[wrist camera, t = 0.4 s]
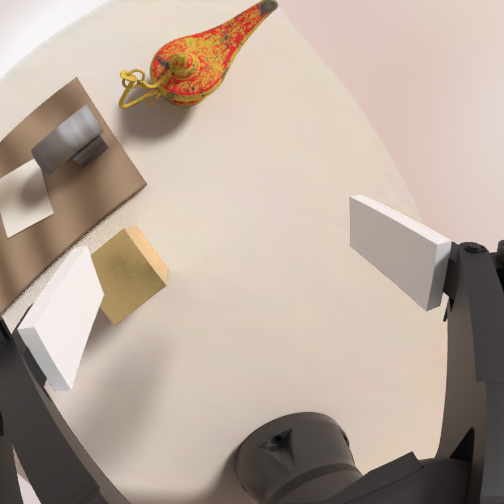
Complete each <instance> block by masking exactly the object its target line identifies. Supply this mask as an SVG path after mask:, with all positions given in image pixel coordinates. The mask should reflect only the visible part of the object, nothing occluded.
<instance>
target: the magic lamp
mask: <svg viewBox="0 0 504 504" xmlns="http://www.w3.org/2000/svg"><path fill="white" fill-rule="evenodd" d="M277 7H278V3H277V1H275V0H262V1H260V2H259V3H257V4H255V5H254V6H252V7H250V8H249V9H247V10H245V11H244V12H242V13H241V14H239V15H237V16H236V17H234V18H232V19H231V20H229V21H227V22H225V23H223V24H221V25H219V26H217V27H215V28H212V29H210V30H207V31H204V32H201V33H197V34H194V35H190V36H185V37H182V38H178V39H175V40H173V41H171V42H169V43H167V44H166V45H164V46H163V47H162V48H161V49H159V51H158V52H157V53H156V54H155V56H154V58H153V60H152V62H151V66H150V77H151V81H152V83H153V85H149V84H147V83H146V82H145V81H143V80H144V78H145V73H144V71H142V70H138V69H135V70H132V71H130V72H128V71H126V70H123V71H121V73H120V77H121V78H123V80H122V85H123V86H124V87H125V88H126V89H125V91H124V93H123V95H122V97H121V99H120V102H119V108H121V109H126V108H128V107H131V106H133V105H135V104H137V103H138V102H140V101H142V100H144V99H146V98H148V97H150V96H153V95H155V94H157V95H156V97H155V99H154V100H153V101H152V102H151V103H149V104H148V102H147V105H150V104H152V103H153V102H154V101H155V100H156V99H157V98H158V97H159V96H161V94H162V95H164V96H165V98H166V99H167V100H169V101H170V102H171V103H173V104H175V105H179V106H191V105H195V104H197V103H199V102H201V101H202V100H204V99H205V98H206V97H207V96H208V95H210V94H211V93H213V92H214V91H215V90H216V89H217V88H218V87H219V86H220V84H221V83H222V82H223V80H224V78H225V76H226V74H227V72H228V69H229V67H230V65H231V63H232V61H233V60H234V58H235V56H236V55H237V53H238V52H239V50H240V49H241V47H242V46H243V45H244V43H245V42H246V41H247V39H248V38H249V37H250V36H251V34H252V33H253V32H254V31H255V30H256V28H257V27H258V26H259V25H260V24H261V23H262V22H263V21H264V20H265V19H266V18H267V17H268V16H269V15H270V14H271V13H272V12H273V11H274V10H276V9H277ZM133 72H140V73H142V75H143V76H142V79H141V81H140V80H138V79H137V78H136V76H135V75H133V74H132V73H133ZM125 80H127V81H129V84H128V86H126V85H125ZM137 80H138V81H137ZM136 81H137V84H136V85H135V86H133V84H134V82H136ZM137 86H140V87H142V88H144V89H151V88H156V89H154V90H152V91H150V92H149V93H147V94H145V95H144V96H142V97H140V98H138V99H136V100H134V101H132V102H130V103H128V104H126V105H123V102H124V100H125V98H126V96H127V94H128V92H129V91H130V89H132V88H136V87H137Z"/></svg>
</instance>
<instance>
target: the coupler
mask: <svg viewBox="0 0 504 504" xmlns="http://www.w3.org/2000/svg"><path fill="white" fill-rule="evenodd" d="M91 259H92V262H93V265H94V268H95V271H96V274H97V276H98V279H99V282H100V285H101V288H102V290H103V293H104V296H103V299H102V301H101V304H100V308H101V310H102V311H103V312H104V313H105V315H106V316H107V317H108V318H109V320H110V321H111V322H112V323H113V324H114V326H115V325H116V324H118V323H119V322H120V321H121V320H123V319H124V318H125V317H127V316H128V315H129V314H130V313H132V312H133V311H134V310H136V309H137V308H138V307H139V306H141V305H142V304H143V303H145V302H146V301H147V300H148V299H150V298H151V297H152V296H154V295H155V294H156V293H158V292H159V291H160V290H161V289H163V288H164V287H165V286H166V285H167V277H168V268H167V266H166V265H165V264H164V262H163V261H162V260H161V258H160V257H159V256H158V254H157V253H156V252H155V250H154V249H153V248H152V246H151V245H150V243H149V242H148V241H147V239H146V238H145V237H144V235H143V234H142V232H141V231H140V230H139V228H138V227H131V228H124V229H123V230H121V231H120V232H119V233H118V234H116V235H115V236H114V237H113V238H111V239H110V240H109V241H108V242H107V243H105V244H104V245H103V246H102V247H100V248H99V249H98V250H97V251H96V252H94V253H93V254H92V255H91Z"/></svg>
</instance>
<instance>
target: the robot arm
mask: <svg viewBox="0 0 504 504" xmlns="http://www.w3.org/2000/svg"><path fill="white" fill-rule="evenodd" d="M350 246H351V247H352V248H353V249H354V250H355V251H357V252H358V253H359V254H360V255H361V256H363V257H364V258H365V259H366V260H368V261H369V262H370V263H371V264H372V265H374V266H375V267H376V268H377V269H378V270H379V271H381V272H382V273H383V274H384V275H385V276H386V277H388V278H389V279H390V280H391V281H392V282H393V283H395V284H396V285H397V286H398V287H399V288H400V289H402V290H403V291H404V292H405V293H406V294H407V295H408V296H409V297H411V298H412V299H413V300H414V301H415V302H416V303H417V304H418V305H420V306H421V307H422V308H423V309H424V310H425V311H428V310H431V309H434V308H436V307H438V306H440V304H441V299H442V295H443V292H444V293H445V294H446V295H448V296H449V299H448V303H447V308H446V312H445V316H444V320H443V321H444V322H446V319H447V320H448V356H447V380H446V394H445V405H444V415H443V423H442V431H441V438H440V443H439V448H438V451H437V453H436V456H435V458H430V459H423V460H417V458H416V456H415V455H414V453H413V452H410V453H408V454H406V455H404V456H402V457H400V458H398V459H396V460H394V461H391V462H389V463H387V464H385V465H383V466H380V467H378V468H376V469H374V470H371V471H370V472H368V473H367V474H365V475H364V476H363V475H362V474H361V473H360V471H359V470H358V469H357V468H356V466H355V463H354V459H353V456H352V453H351V450H350V448H349V441H348V438H347V436H346V434H345V432H344V431H343V429H342V428H341V427H340V426H339V425H338V424H337V423H336V421H335V420H333V419H332V418H331V417H329V416H327V415H324V414H320V413H315V412H302V413H295V414H290V415H287V416H283V417H281V418H278V419H276V420H273V421H271V422H269V423H267V424H265V425H264V426H262V427H261V428H259V429H258V430H256V431H255V432H254V433H253V434H251V435H250V436H249V437H248V438H247V439H246V440H245V442H244V443H243V444H242V446H241V447H240V449H239V450H238V453H237V455H236V459H235V470H236V474H237V477H238V480H239V482H240V484H241V486H242V487H243V489H244V490H245V491H246V492H247V493H248V494H250V495H251V496H252V498H253V499H254V500H255V501H256V502H257V503H258V504H504V240H502V241H500V242H499V244H498V249H497V252H495V253H494V252H493V253H489V251H488V250H487V249H486V248H485V247H484V246H482V245H480V244H477V243H474V242H464V243H461V244H459V245H458V244H456V243H454V242H452V241H451V240H449V239H448V238H446V237H444V236H442V235H440V234H439V233H437V232H435V231H433V230H431V229H430V228H427V227H426V226H424V225H422V224H420V223H418V222H416V221H415V220H413V219H411V218H409V217H407V216H405V215H403V214H401V213H399V212H397V211H395V210H393V209H391V208H389V207H387V206H385V205H383V204H381V203H379V202H377V201H375V200H373V199H371V198H368V197H366V196H364V195H356V196H350ZM103 296H104V293H103V290H102V288H101V285H100V282H99V279H98V276H97V274H96V271H95V268H94V265H93V262H92V259H91V256H90V253H89V250H88V246H87V245H86V246H82V247H78V248H74V249H73V250H72V251H71V253H70V254H69V255H68V256H67V258H66V259H65V260H64V262H63V263H62V264H61V266H60V267H59V268H58V270H57V271H56V272H55V274H54V275H53V277H52V278H51V279H50V281H49V282H48V284H47V285H46V286H45V288H44V289H43V291H42V292H41V293H40V295H39V296H38V298H37V299H36V301H35V302H34V303H33V304H32V305H31V306H30V307H29V308H28V309H27V311H26V312H25V314H24V316H23V317H22V318H21V320H20V322H19V323H18V325H17V326H16V328H15V329H14V331H13V333H12V334H11V333H10V331H9V329H8V327H7V325H6V324H5V322H4V320H3V318H2V317H1V316H0V504H23V500H22V496H21V492H20V487H19V483H18V477H17V472H16V467H15V461H14V454H13V447H12V444H13V446H14V449H15V451H16V454H17V456H18V458H19V460H20V463H21V465H22V467H23V469H24V471H25V473H26V475H27V478H28V480H29V482H30V484H31V485H32V487H33V489H34V491H35V493H36V495H37V497H38V499H39V500H40V502H41V504H130V503H129V502H128V501H127V499H126V498H125V497H124V496H123V495H122V494H121V493H120V492H119V491H118V490H117V488H116V487H115V486H114V485H113V484H112V483H111V482H110V480H109V479H108V478H107V477H106V476H105V474H104V473H103V472H102V471H101V470H100V468H99V467H98V466H97V465H96V463H95V462H94V461H93V459H92V458H91V457H90V455H89V454H88V453H87V452H86V450H85V449H84V447H83V446H82V445H81V443H80V442H79V441H78V439H77V438H76V436H75V435H74V433H73V432H72V430H71V429H70V428H69V426H68V425H67V423H66V421H65V420H64V418H63V417H62V415H61V414H60V412H59V411H58V409H57V407H56V406H55V404H54V402H53V401H52V399H51V397H50V396H49V394H48V392H47V391H46V390H45V388H44V385H45V382H46V380H48V382H49V383H50V385H51V386H52V388H53V389H54V391H63V390H72V387H73V383H74V380H75V376H76V373H77V370H78V367H79V364H80V360H81V357H82V354H83V351H84V348H85V345H86V342H87V339H88V337H89V334H90V331H91V328H92V325H93V323H94V320H95V317H96V314H97V312H98V309H99V307H100V304H101V301H102V299H103Z"/></svg>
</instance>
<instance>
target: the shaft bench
mask: <svg viewBox="0 0 504 504" xmlns="http://www.w3.org/2000/svg"><path fill="white" fill-rule="evenodd" d="M146 185H147V183H146V182H145V180H144V179H143V177H142V176H141V175H140V173H139V172H138V170H137V169H136V167H135V166H134V164H133V163H132V161H131V160H130V158H129V157H128V155H127V154H126V152H125V151H124V150H123V148H122V147H121V145H120V144H119V142H118V141H117V139H116V138H115V136H114V135H113V133H112V131H111V130H110V128H109V127H108V125H107V124H106V122H105V121H104V119H103V118H102V116H101V115H100V113H99V112H98V110H97V108H96V107H95V105H94V104H93V102H92V101H91V99H90V97H89V96H88V94H87V93H86V91H85V90H84V88H83V86H82V85H81V83H80V82H79V80H78V78H77V77H76V78H75V79H73V80H72V81H71V82H69V83H68V84H67V85H65V86H64V87H63V88H61V89H60V90H59V91H57V92H56V93H55V94H54V95H52V96H51V97H50V98H49V99H47V100H46V101H45V102H44V103H42V104H41V105H40V106H39V107H38V108H36V109H35V110H34V111H33V112H32V113H31V114H30V115H28V116H27V117H26V118H25V119H24V120H23V121H22V122H21V123H20V124H18V125H17V126H16V127H15V128H14V129H13V130H12V131H11V132H10V133H9V134H8V135H7V136H6V137H5V138H4V139H3V140H2V141H1V142H0V315H1V313H2V312H3V311H4V310H5V309H6V308H7V307H8V306H9V305H10V304H11V303H12V302H13V301H14V300H15V299H16V298H17V297H18V296H19V295H20V294H21V293H22V292H23V291H24V290H25V289H26V288H27V287H28V286H29V285H30V284H31V283H32V282H33V281H34V280H35V279H36V278H37V277H38V276H39V275H40V274H41V273H42V272H43V271H44V270H45V269H46V268H47V267H48V266H49V265H50V264H51V263H53V262H54V261H55V260H56V259H57V258H58V257H59V256H60V255H61V254H62V253H64V252H65V251H66V250H67V249H68V248H69V247H70V246H71V245H73V244H74V243H75V242H76V241H77V240H78V239H79V238H81V237H82V236H83V235H84V234H85V233H86V232H88V231H89V230H90V229H91V228H92V227H94V226H95V225H96V224H97V223H98V222H100V221H101V220H102V219H103V218H104V217H106V216H107V215H108V214H109V213H111V212H112V211H113V210H114V209H116V208H117V207H118V206H119V205H121V204H122V203H123V202H125V201H126V200H127V199H129V198H130V197H131V196H132V195H134V194H135V193H136V192H138V191H139V190H140V189H142V188H143V187H144V186H146Z"/></svg>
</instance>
